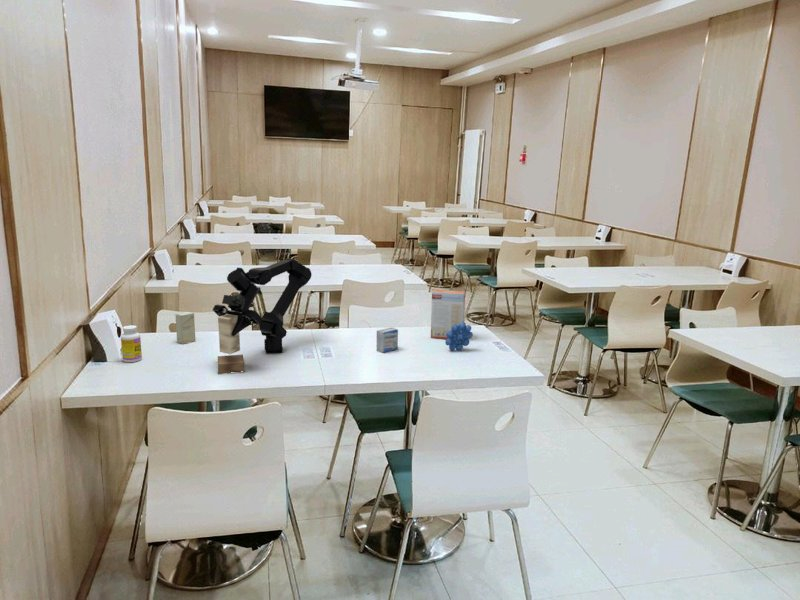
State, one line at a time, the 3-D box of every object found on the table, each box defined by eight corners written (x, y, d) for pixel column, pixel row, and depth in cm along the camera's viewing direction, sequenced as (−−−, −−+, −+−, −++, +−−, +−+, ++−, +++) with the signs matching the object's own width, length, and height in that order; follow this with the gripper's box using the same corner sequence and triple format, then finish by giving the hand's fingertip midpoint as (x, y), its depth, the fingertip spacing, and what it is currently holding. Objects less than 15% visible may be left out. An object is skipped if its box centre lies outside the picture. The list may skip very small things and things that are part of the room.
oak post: (229, 348, 216) (227, 313, 212) (240, 350, 213) (238, 315, 210) (219, 351, 211) (217, 317, 208) (230, 354, 209) (228, 319, 206)
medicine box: (383, 353, 235) (383, 332, 233) (376, 350, 238) (376, 330, 236) (397, 349, 240) (398, 329, 238) (390, 346, 243) (391, 326, 241)
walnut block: (243, 364, 219) (243, 354, 218) (244, 372, 211) (244, 362, 210) (218, 366, 217) (217, 356, 216) (218, 375, 208) (217, 364, 207)
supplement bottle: (136, 363, 217) (133, 329, 214) (119, 362, 217) (116, 329, 214) (145, 357, 223) (142, 324, 220) (128, 356, 224) (125, 324, 221)
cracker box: (463, 337, 259) (466, 290, 254) (462, 341, 253) (464, 293, 249) (432, 334, 262) (434, 288, 257) (430, 338, 256) (431, 291, 252)
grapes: (468, 346, 246) (469, 319, 243) (473, 351, 240) (475, 323, 237) (441, 347, 243) (442, 320, 241) (446, 353, 237) (448, 324, 234)
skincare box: (182, 344, 240) (180, 315, 237) (176, 342, 242) (174, 313, 239) (196, 341, 244) (194, 312, 242) (190, 339, 247) (188, 311, 244)
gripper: (214, 282, 214) (193, 319, 207) (255, 288, 206) (235, 326, 199) (230, 299, 223) (211, 334, 216) (270, 305, 215) (251, 342, 208)
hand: (226, 334), depth 209 cm, fingers closed on oak post, 5 cm apart
